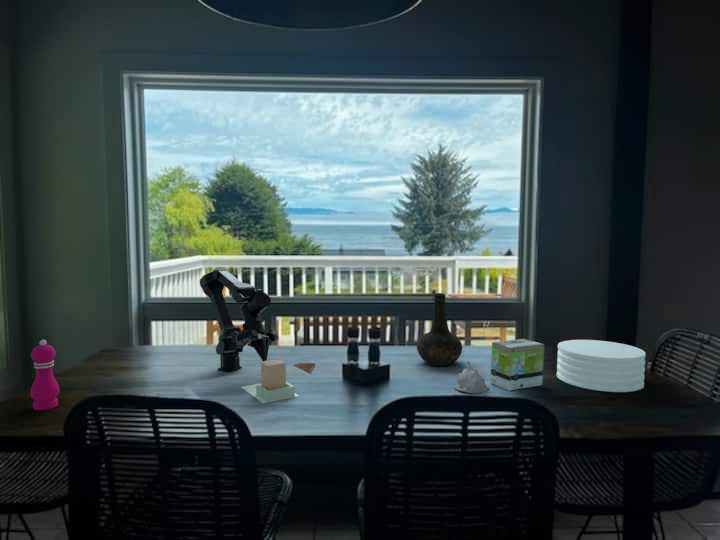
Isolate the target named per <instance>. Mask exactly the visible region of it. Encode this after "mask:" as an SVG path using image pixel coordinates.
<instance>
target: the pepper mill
mask: <svg viewBox="0 0 720 540" xmlns="http://www.w3.org/2000/svg"><path fill="white" fill-rule="evenodd" d="M56 355H57V353H56V349H55V348H54V346H52V345H50V344H48V343H47V340H46V339H42V340H40V341H39V345H37V346H36V347H33V349H32V351H31V353H30V356H31V359H32V360H33V368H34V369H35V378H34V381H33V384H32V386H31V389H30V397H31V399H32V400H33V402H32V408H33V410H35V411H47V410H51V409H54V408H57V407H58V405H59V399H58V396H59V394H60V386H59V383H58V381H57V380H56V378H55V376H54V372H53V367H54V366H55V360H54V358H55V357H56Z"/></svg>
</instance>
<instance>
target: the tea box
mask: <svg viewBox="0 0 720 540" xmlns="http://www.w3.org/2000/svg"><path fill="white" fill-rule="evenodd" d="M544 357H545V344H544V343H541V342H538V341H537V342H536V341H533V340H529V339H525V338H519V339H518V338H517V339H510V340H499V341H492V344H491V358H490V359H491V360H490V374H489V375H490V378H489V379H490V380H489V381H490V384H491V385H494V386H496V387H499V388H502V389H504V390H507V391H513V390H520V389H526V388H533V387H540V386H543V379H544V378H543V375H544V374H543V373H544V359H545V358H544Z"/></svg>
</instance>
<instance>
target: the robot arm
mask: <svg viewBox="0 0 720 540" xmlns="http://www.w3.org/2000/svg"><path fill="white" fill-rule="evenodd" d="M199 286H200V288H201V290H202V291H203V294H205V295H206V296H207V297H208V298H209V299H210V302H211V305H212V307H213V311H214V313H215V317H216V320H217V323H218V326H219V329H220V333H219V337H218V341H219V342H218V343H217V345H216V346H215V353H216V354H217V355H219V356H220V357H219V358H220V367H218V368H217V370H218V371H224V372H230V373H231V372H234V371H237V370H239V369H242V368H243V366H241V365H240V361H241V360H240V358H241V357H240V356H239V355H240V353H244V347H245V346H248V347H251V348H253V350H255V351H256V354H257V355H258V356H259V358H260V359H261V360H262V362H265V361H268V355H269V348H270V344H272V343H274V342H276V341H278V340H279V336H278V334H277V333H275V332H268V330H267V329H265V328H264V327H265V326H264V324H263V323H264V322H265V321H264V318H261V315H260V314H261V313H262V312H263V311H265V310H266V309H267V308H268V307H269V306H271V302H272V299H271V297H270V296H269V295H268V294H267V292H264V291H263V289H256V288H255V286H253V285H251V284H249V283H245V282H242V281H241V280H239V279H238V278H237V277H236V276H234V275H233V274H232V273H230V272H229V269H227V268H215V269H213V270H212V271H211V272H209V273H206V274H204V275H202V277H201V278H200V279H199ZM224 288H225V289H226V288H227V289H228V290H229V291H230V292H231V298H233V300H234V302H236V303H238V304H240V303H242V304H240V306H239V308H238V313H241V315H242V318H243V321H244V323H242V330H241V327H240V326H238V327H236V326H235V325H234V322H233V320H232V317H231V314H230V312H229V308H228V306H227V303H226V300H225V297H224V293H223V291H224Z"/></svg>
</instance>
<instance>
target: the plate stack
mask: <svg viewBox="0 0 720 540" xmlns="http://www.w3.org/2000/svg"><path fill="white" fill-rule="evenodd" d="M557 349H558V350H557V358H556V360H557V364H556V370H557V371H556V378H558V379H559V380H561V381H563V382H564V383H566V384H568V385H571V386H573V387H578V388H582V389H587V390H593V391H600V392H610V393H629V392H636V391H640V390H642V389H644V387H645V371H646V368H645V366H646V351H644V350H643V349H641V348H639V347H636V346H633V345H629V344H625V343H619V342H616V341H615V342H614V341H606V340H598V339H597V340H596V339H595V340H594V339H570V340H564V341H560V342H558V344H557Z"/></svg>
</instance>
